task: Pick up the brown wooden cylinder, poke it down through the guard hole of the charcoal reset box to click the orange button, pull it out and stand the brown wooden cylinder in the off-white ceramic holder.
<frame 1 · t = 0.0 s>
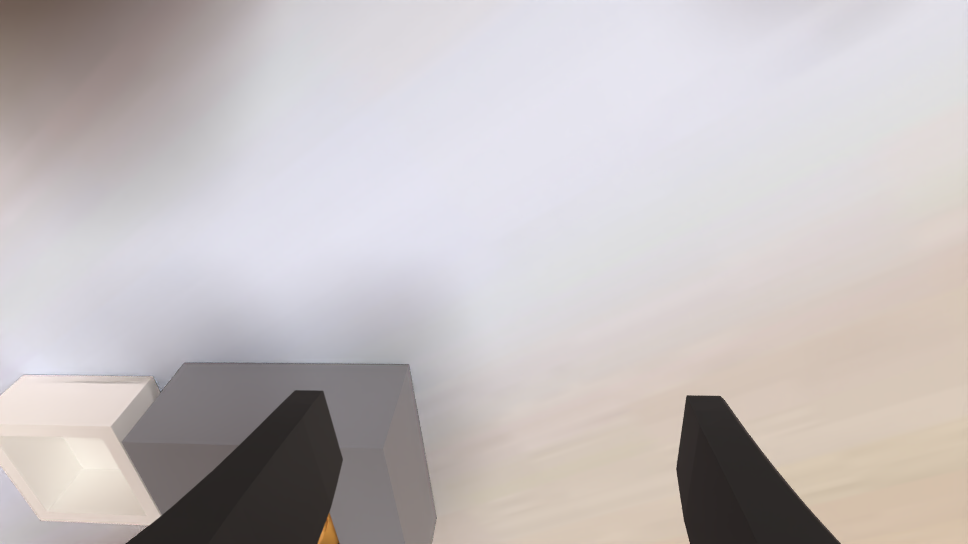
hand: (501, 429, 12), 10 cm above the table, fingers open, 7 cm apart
reset box: (319, 445, 28), on the table
reset button: (291, 512, 25), point 4 cm above the table, slide at 0.0 cm
holder: (115, 426, 29), on the table
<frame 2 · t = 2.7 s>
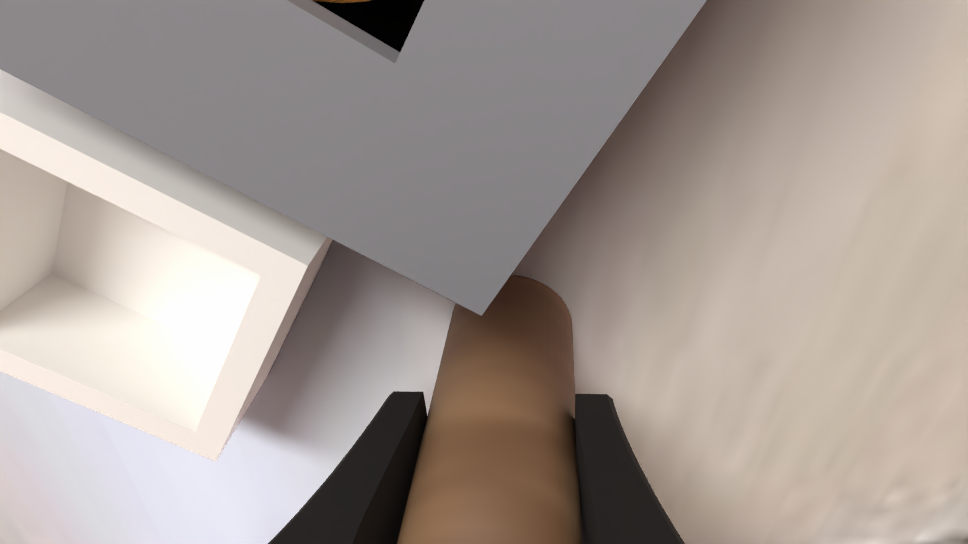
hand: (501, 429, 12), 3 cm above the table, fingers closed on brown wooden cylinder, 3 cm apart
brown wooden cylinder: (511, 326, 15), on the table, touching gripper
holder: (183, 235, 14), on the table
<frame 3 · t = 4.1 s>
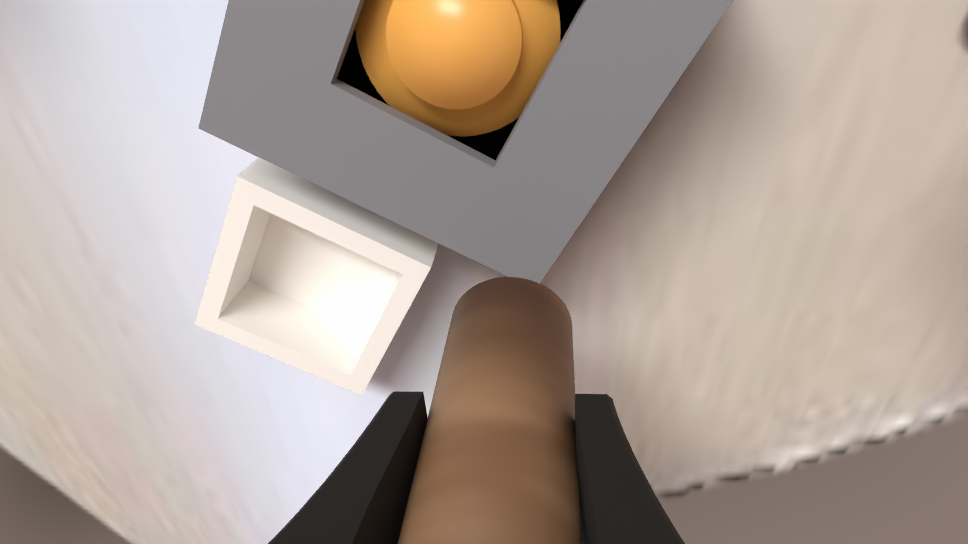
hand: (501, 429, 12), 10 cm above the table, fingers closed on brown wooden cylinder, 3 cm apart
brown wooden cylinder: (511, 327, 15), point 7 cm above the table, touching gripper
reset box: (473, 12, 18), on the table
reset button: (457, 35, 15), point 4 cm above the table, slide at 0.0 cm
holder: (333, 252, 23), on the table
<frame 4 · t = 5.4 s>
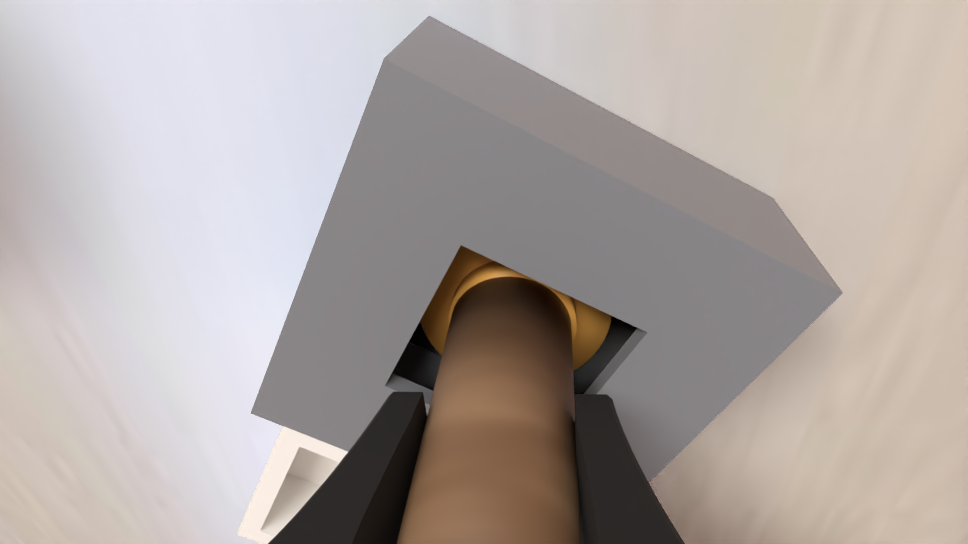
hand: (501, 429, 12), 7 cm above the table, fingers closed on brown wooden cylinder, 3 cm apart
brown wooden cylinder: (510, 327, 15), point 3 cm above the table, touching gripper, reset button
reset box: (518, 261, 18), on the table
reset button: (513, 310, 16), point 2 cm above the table, slide at -1.1 cm, touching brown wooden cylinder
holder: (372, 448, 23), on the table
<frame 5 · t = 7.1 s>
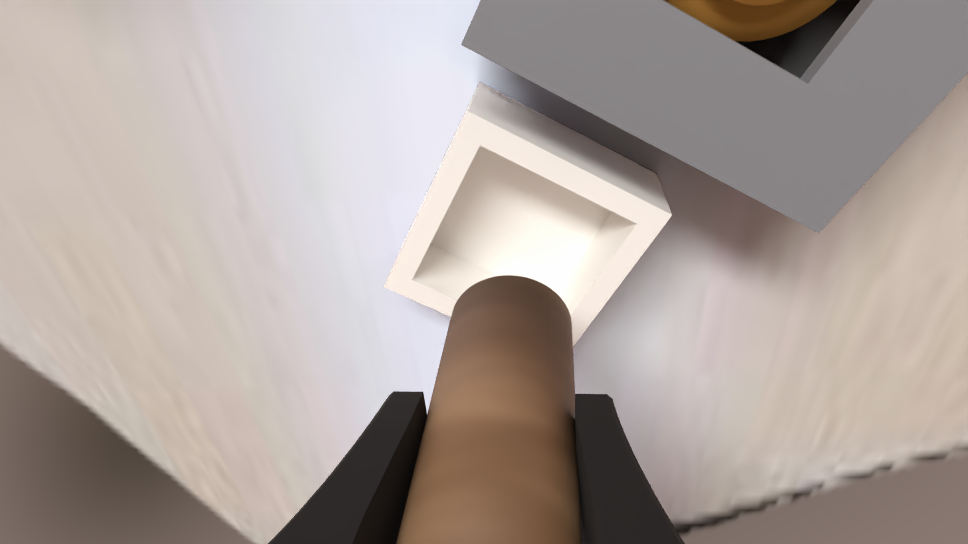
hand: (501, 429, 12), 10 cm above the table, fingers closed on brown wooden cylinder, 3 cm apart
brown wooden cylinder: (510, 326, 15), point 7 cm above the table, touching gripper
holder: (523, 209, 21), on the table
when the fingers open (5 cm above the table, at t = 8.3 s): brown wooden cylinder stays where it is, resting on holder.
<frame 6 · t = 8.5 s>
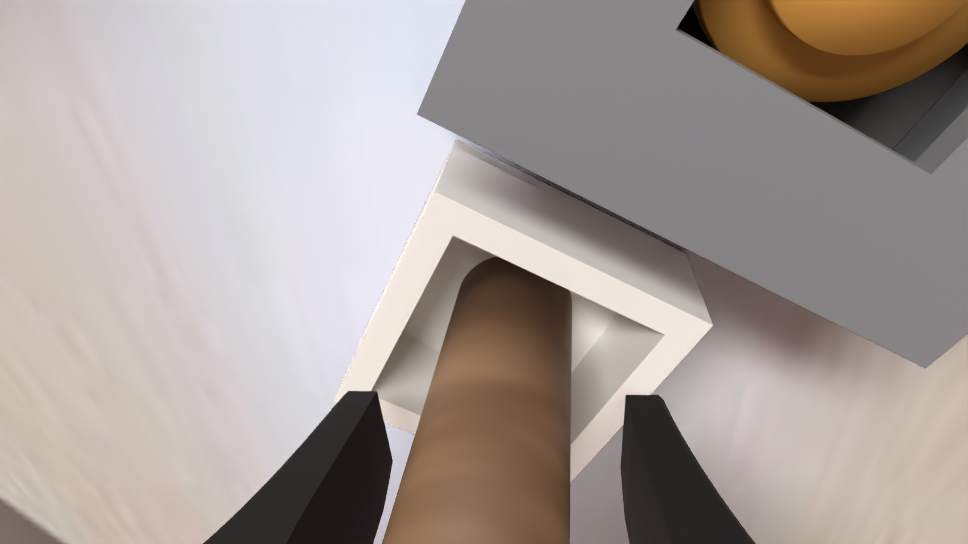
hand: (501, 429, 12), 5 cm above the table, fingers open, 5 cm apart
brown wooden cylinder: (514, 304, 16), point 1 cm above the table, touching holder
holder: (514, 293, 16), on the table
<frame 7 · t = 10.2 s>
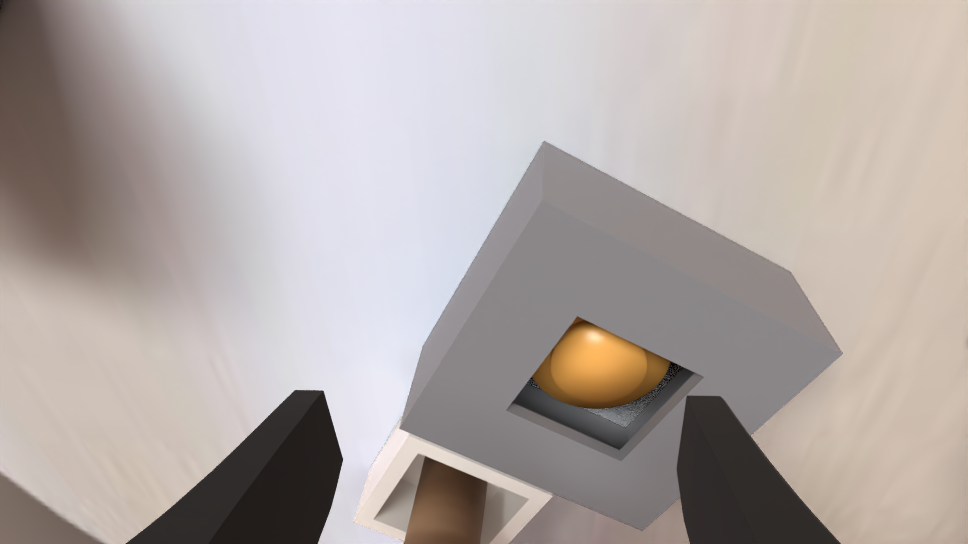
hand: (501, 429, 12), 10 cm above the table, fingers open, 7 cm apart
brown wooden cylinder: (457, 462, 27), point 1 cm above the table, touching holder
reset box: (592, 312, 23), on the table
reset button: (596, 354, 21), point 2 cm above the table, slide at -1.1 cm
holder: (458, 453, 28), on the table
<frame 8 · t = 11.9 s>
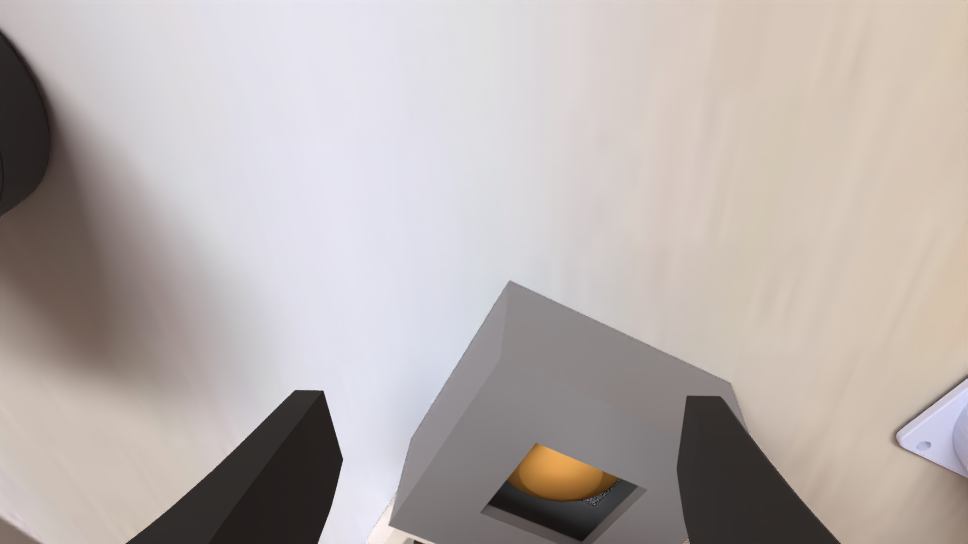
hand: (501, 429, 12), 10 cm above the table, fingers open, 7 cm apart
reset box: (559, 413, 26), on the table
reset button: (560, 458, 24), point 2 cm above the table, slide at -1.1 cm
holder: (445, 526, 31), on the table
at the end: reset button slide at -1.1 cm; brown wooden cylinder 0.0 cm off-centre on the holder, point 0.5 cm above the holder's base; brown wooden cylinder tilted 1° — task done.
